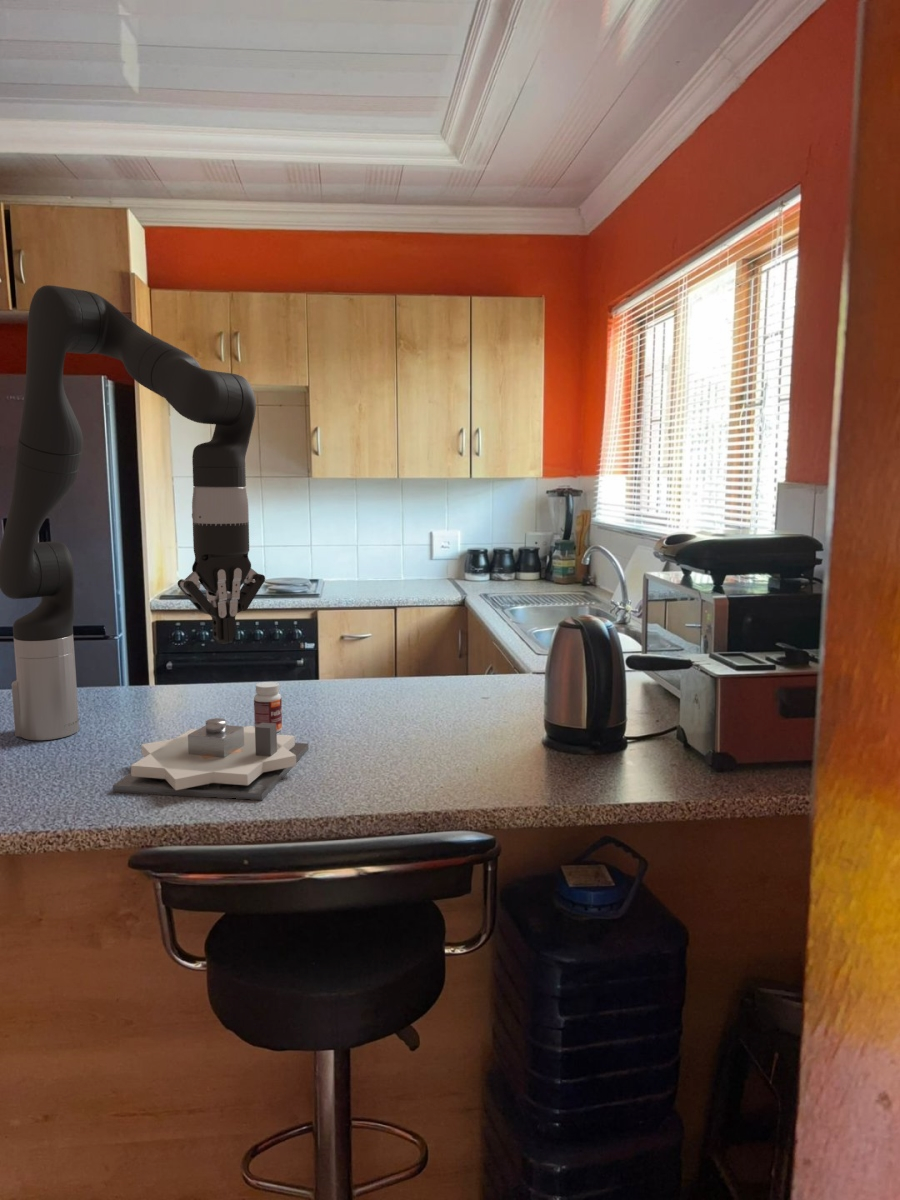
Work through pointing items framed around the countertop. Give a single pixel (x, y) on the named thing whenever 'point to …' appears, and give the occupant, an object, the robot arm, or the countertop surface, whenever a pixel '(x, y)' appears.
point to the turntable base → (210, 784)
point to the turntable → (217, 759)
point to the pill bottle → (268, 704)
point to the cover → (216, 739)
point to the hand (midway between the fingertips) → (224, 642)
